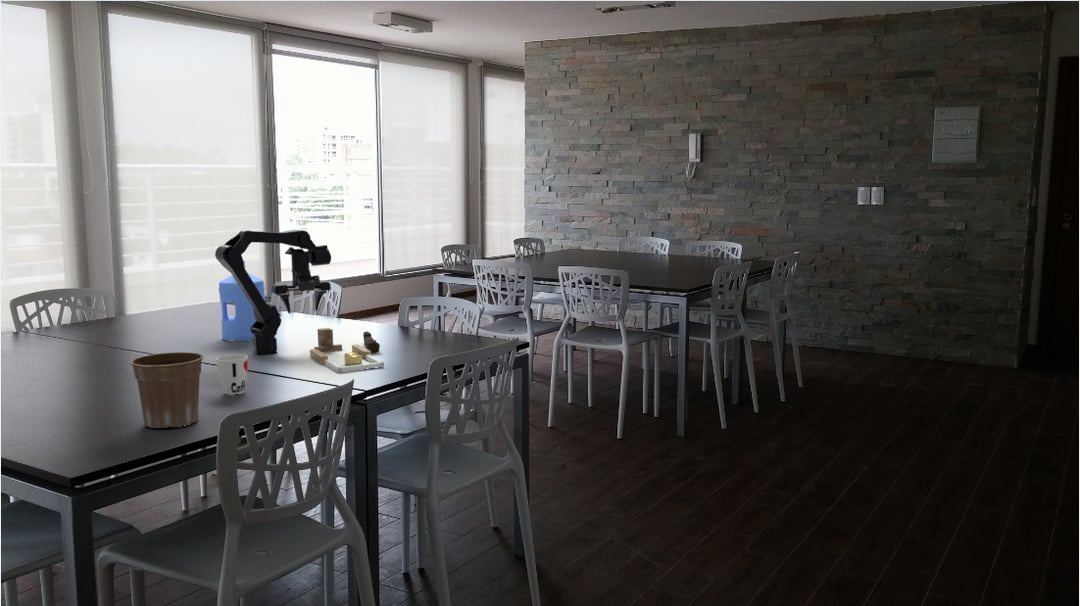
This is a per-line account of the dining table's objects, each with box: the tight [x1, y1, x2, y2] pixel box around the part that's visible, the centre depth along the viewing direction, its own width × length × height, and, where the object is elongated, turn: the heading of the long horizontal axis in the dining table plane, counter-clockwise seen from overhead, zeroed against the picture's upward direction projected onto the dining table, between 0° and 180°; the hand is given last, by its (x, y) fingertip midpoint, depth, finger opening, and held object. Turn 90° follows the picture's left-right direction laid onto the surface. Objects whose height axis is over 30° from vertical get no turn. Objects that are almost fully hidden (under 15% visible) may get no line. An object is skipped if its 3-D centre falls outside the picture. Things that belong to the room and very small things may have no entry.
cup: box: [215, 353, 249, 396], centre depth 245 cm, size 8×8×10 cm
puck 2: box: [348, 355, 363, 366], centre depth 276 cm, size 4×4×4 cm
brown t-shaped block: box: [313, 327, 343, 353], centre depth 302 cm, size 9×6×7 cm, turn 120°
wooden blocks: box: [309, 344, 372, 366], centre depth 289 cm, size 16×13×2 cm
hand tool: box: [362, 331, 381, 354], centre depth 305 cm, size 19×4×5 cm, turn 17°
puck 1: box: [343, 352, 358, 366], centre depth 280 cm, size 4×4×4 cm
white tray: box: [325, 354, 385, 374], centre depth 277 cm, size 14×13×2 cm
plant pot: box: [130, 351, 204, 429], centre depth 216 cm, size 16×16×16 cm
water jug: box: [218, 260, 266, 342], centre depth 323 cm, size 16×16×28 cm
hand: (302, 312), depth 306 cm, fingers open, 9 cm apart
